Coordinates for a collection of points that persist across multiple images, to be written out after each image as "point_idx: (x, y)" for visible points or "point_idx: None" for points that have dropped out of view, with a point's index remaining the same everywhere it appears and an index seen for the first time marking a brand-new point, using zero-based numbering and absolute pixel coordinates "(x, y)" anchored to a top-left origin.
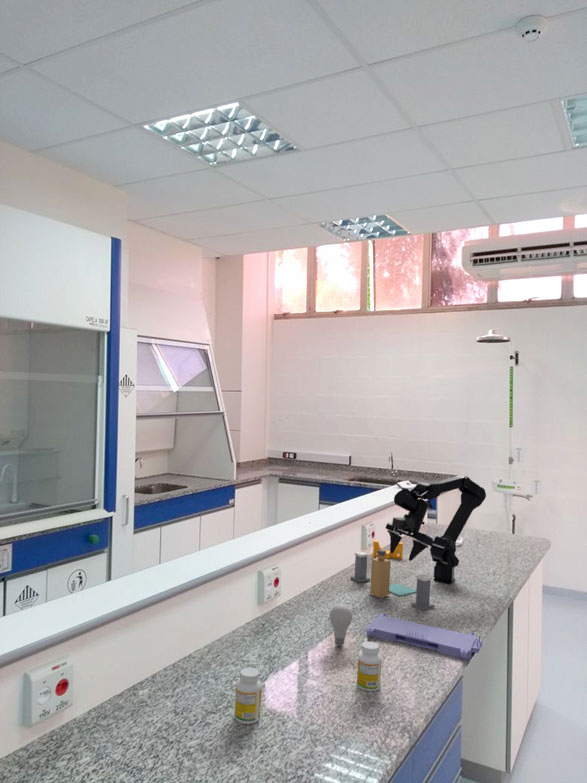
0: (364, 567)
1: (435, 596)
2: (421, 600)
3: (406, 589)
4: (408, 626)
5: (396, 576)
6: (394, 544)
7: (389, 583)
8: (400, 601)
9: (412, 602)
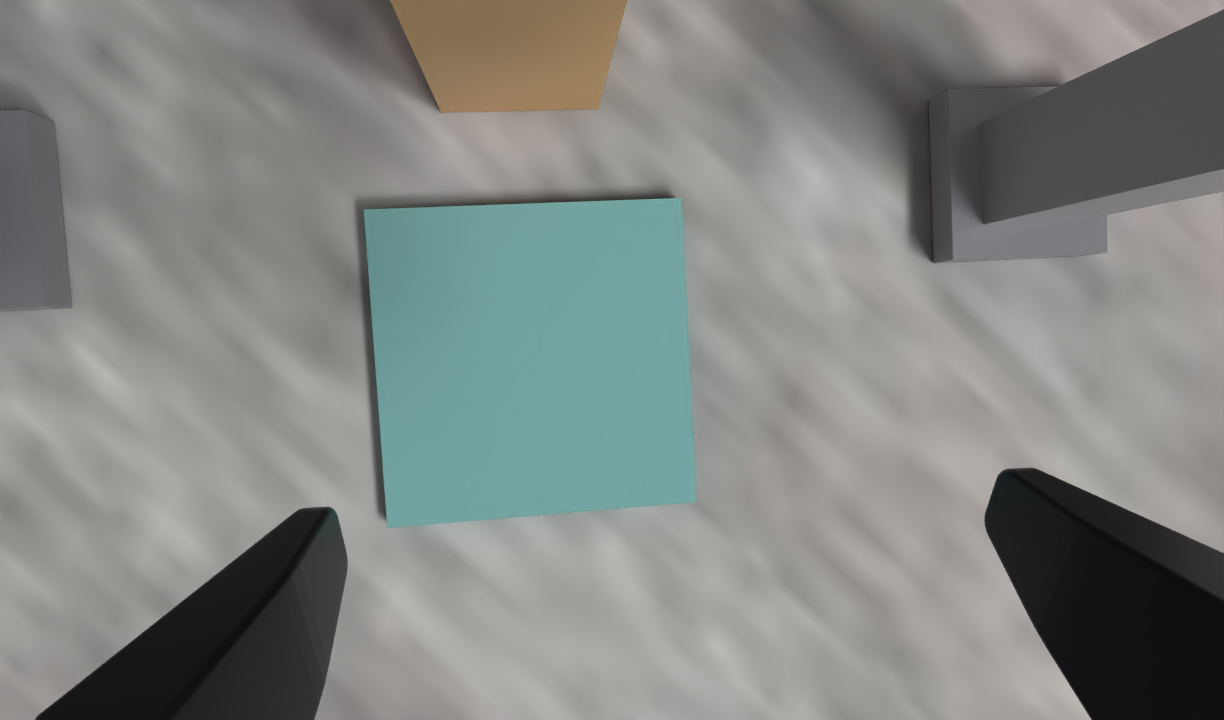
0: (1090, 151)
1: None
2: None
3: (489, 433)
4: None
5: (924, 664)
6: (1204, 706)
7: (412, 49)
8: (227, 102)
9: (16, 118)
